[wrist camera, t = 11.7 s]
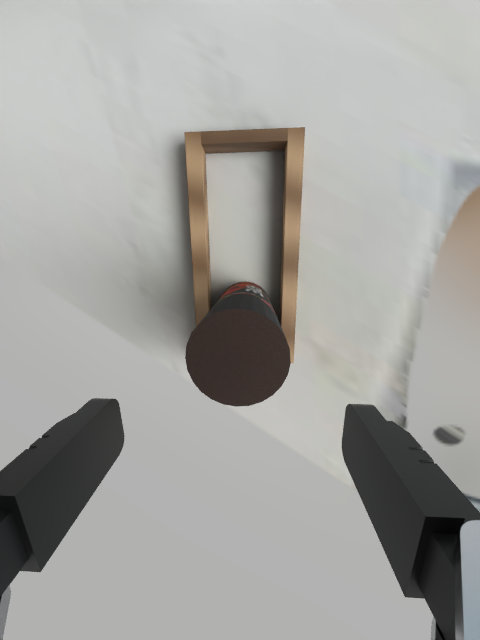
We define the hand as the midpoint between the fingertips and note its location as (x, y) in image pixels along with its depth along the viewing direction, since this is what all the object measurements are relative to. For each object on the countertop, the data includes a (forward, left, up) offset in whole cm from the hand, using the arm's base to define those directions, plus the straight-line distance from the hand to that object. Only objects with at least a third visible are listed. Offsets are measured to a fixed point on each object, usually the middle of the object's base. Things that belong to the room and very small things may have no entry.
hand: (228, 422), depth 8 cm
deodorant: (0, 0, -20) cm, 20 cm away
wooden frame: (-5, 0, -20) cm, 21 cm away
